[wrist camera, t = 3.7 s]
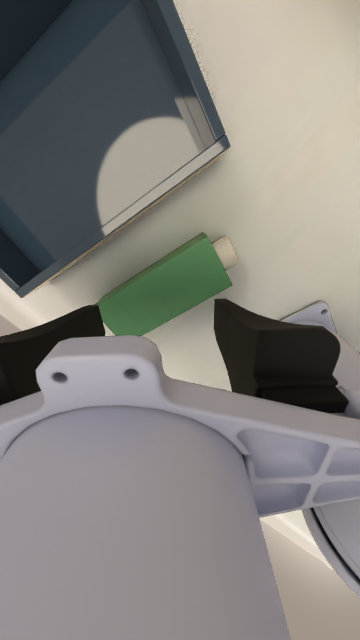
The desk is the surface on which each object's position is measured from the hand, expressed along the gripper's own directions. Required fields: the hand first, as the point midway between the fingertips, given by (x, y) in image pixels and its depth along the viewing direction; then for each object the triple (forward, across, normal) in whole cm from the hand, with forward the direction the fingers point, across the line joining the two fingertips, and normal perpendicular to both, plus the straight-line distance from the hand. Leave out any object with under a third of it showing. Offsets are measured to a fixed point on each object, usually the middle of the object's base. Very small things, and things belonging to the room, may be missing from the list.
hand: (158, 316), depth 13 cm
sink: (+6, +5, -9) cm, 12 cm away
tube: (+6, 0, 0) cm, 6 cm away
